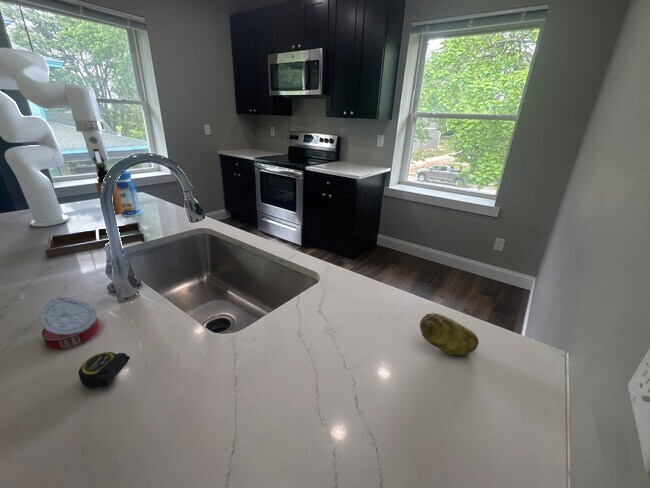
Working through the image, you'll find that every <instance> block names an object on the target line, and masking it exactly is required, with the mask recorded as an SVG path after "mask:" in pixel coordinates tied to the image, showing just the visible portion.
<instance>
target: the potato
mask: <svg viewBox="0 0 650 488" xmlns="http://www.w3.org/2000/svg"><path fill="white" fill-rule="evenodd" d="M419 330H420V333H421V336H422V337H423V339H424V340H425V341H426V342H428V343H429V344H430V345H431V346H433V347H435V348H437V349H439V350H440V351H442V352H443V353H445V354H448V355H451V356H463V355H468V354H470V353H472V352H474V351H475V350H476V349H477V348H478V346H479V337H478V336H477V335H476V333H474V332H473V331H472V330H471V329H469V328H468V327H466V326H464V325H463V324H461V323H459V322H457V321H455V320H454V319H452V318H450V317H447V316H446V315H444V314H439V313H433V312H432V313H427V314H425V315H424V316H422V318H421V320H420V323H419Z"/></svg>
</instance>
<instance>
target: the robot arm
mask: <svg viewBox="0 0 650 488" xmlns="http://www.w3.org/2000/svg"><path fill="white" fill-rule="evenodd" d="M49 75H50V66H49V64H48V62H47V60H46V59H45V58H44V57H43V56H42V55H40V54H39V53H37V52H35V51H33V50H32V51H31V50H25V49H18V48H11V47H0V137H1V139H3V140H4V141H5V142H7V143H10V144H11V143H13V144H16V143H17V144H18V143H35V142H37V143H38V144H34V145H21V146H14V147H13V146H12V147H10V148H8V149H7V150H5V152H4V159H5V160H6V163H7V164H8V166H9V167H10V169H11V170H12V172H13V173H14V176H15V178H16V179H17V182H18V183H19V187H20V189H21V191H22V194H23V196H24V199H25V200H26V203H27V206H28V209H29V210H30V213H31V215H32V218H33V219H32V220H31V221H30V223H29V224H30V225H31V226H32V227H34V228H44V227H45V228H47V227H52V226H57V225H61V224H64V223H66V222H68V221H69V220H70V218H69V216H68V215H66V214H63V211H62V209H61V206H60V203H59V201H58V198H57V195H56V192H55V189H54V187H53V184H52V181H51V180H50V179H49V177H48V176H47V175H45V174H43V173H42V172H41V171H42V170H49V169H56V168H59V167H62V166H63V165H64V162H65V159H64V155H63V152H62V150H61V147H60V145H59V143H58V140H57V138H56V135H55V133H54V131H53V129H52V127H51V125H50V124H49V123H48V122H47V120H45V118H42V117H40V116H36V115H23V114H21V113H22V112H20V109H19V107H18V104H17V103H16V101H15V100H13V99H12V98H11V97H10V96H9V95H8V94H6V93H5V92H3V91H2V90H9V91H11V90H12V91H19V92H20V94H21V95H22V96H23V97H24V98H25V100H27V101H29V102H31V103H33V104H34V105H36V106H37V107H40V108H43V109H47V110H69V111H70V114H71V116H72V120H73V124H74V126H75V130H76V132H79V133H81V135H82V138H83V141H84V144H85V147H86V150H87V153H88V156H89V157H90V160H91V163H93V164H95V165H94V166H96V167H95V169H96V173H97V177H98V178H99V182H100V183H102V182H103V179H104V177H105V175H106V174H107V172H108V173H109V170H108V168H107V169H106V166H107V165H106V162H107V163H108V162H110V158H109V154H108V150H107V147H106V143H105V139H104V135H103V133H102V132H105V127H104V124H103V120H102V115H101V112H100V108H99V104H98V101H97V97H96V93H95V90H94V89H93V87H92V86H91V85H89V84H78V83H77V84H76V83H75V84H74V83H61V82H50V78H49ZM105 165H106V166H105Z"/></svg>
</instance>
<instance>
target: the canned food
mask: <svg viewBox="0 0 650 488" xmlns="http://www.w3.org/2000/svg"><path fill="white" fill-rule="evenodd" d="M40 310H41V311H40V312H39V314H38V317H39V324H40V326H41V327H42V328H43V329H42V330H41V332H40V333H41V337H42V339H43V341H44V343H45V346H46V347H47V348H48V349H50V350H52V351H64V350H69V349H70V350H71V349H73V348H76V347H79V346H81V345H84V344H86V343H87V342H89V341H91V339H93V338H94V337H95V336H96V335H97V334H98V333H99V331H100V329H101V325H100V323H99V320H98V318H97V313H96V310H95V309H94V308H93V307H92V306H91V305H90V304H89V303H85V302H84V301H82V300H78V299H75V298H73V297H65V296H59V297H57V298H52V299H51V300H49V301H48V302H47V303H45V304H44V305H43V306H42V309H40Z"/></svg>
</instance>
